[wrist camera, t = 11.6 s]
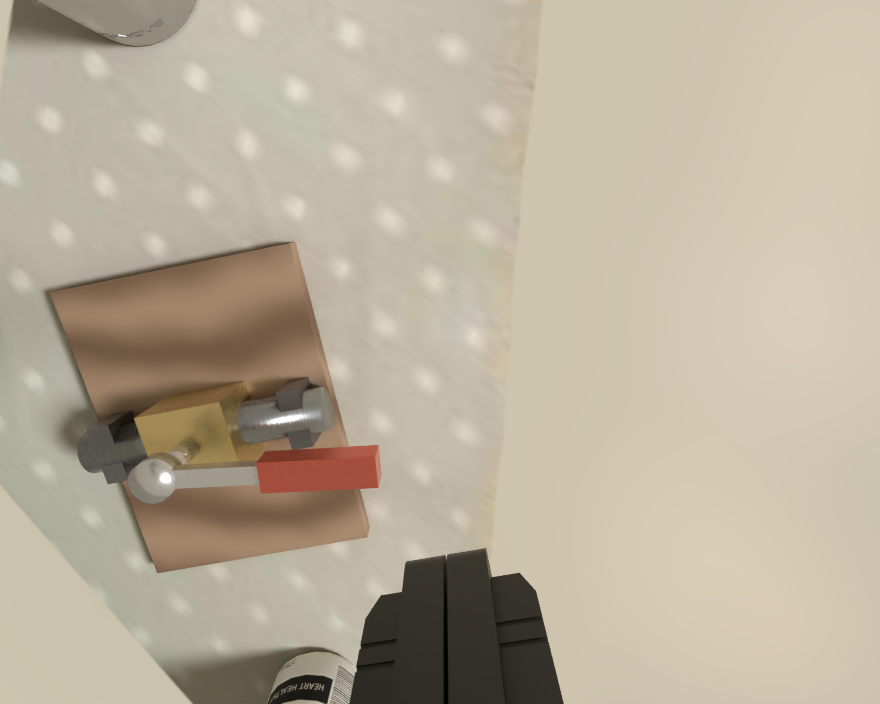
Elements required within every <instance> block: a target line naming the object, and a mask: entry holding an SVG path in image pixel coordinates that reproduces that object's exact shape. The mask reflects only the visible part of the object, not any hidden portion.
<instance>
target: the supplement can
mask: <svg viewBox="0 0 880 704" xmlns="http://www.w3.org/2000/svg"><path fill="white" fill-rule="evenodd" d="M355 672H357V669H356V668H355V667H354V666H353V665H352V664H351V663H349V662H348V661H347V660H345V659H344V658H343V657H341V656H338V655H336V654H333V653H330V652H320V651H315V652H311V653H306V654H302V655H298V656H296V657H295V658H293V659H291V660H290V661H288V662H286V663H285V665H284V666H283V667H282V669H281V670H280V671H279V672H278V674H277V677H276V680H275V682H274V685H273V688H272V691H271V693H270V696H269V699H268V702H267V704H349V702H350V697H351V691H352V686H353V681H354V676H355Z"/></svg>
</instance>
